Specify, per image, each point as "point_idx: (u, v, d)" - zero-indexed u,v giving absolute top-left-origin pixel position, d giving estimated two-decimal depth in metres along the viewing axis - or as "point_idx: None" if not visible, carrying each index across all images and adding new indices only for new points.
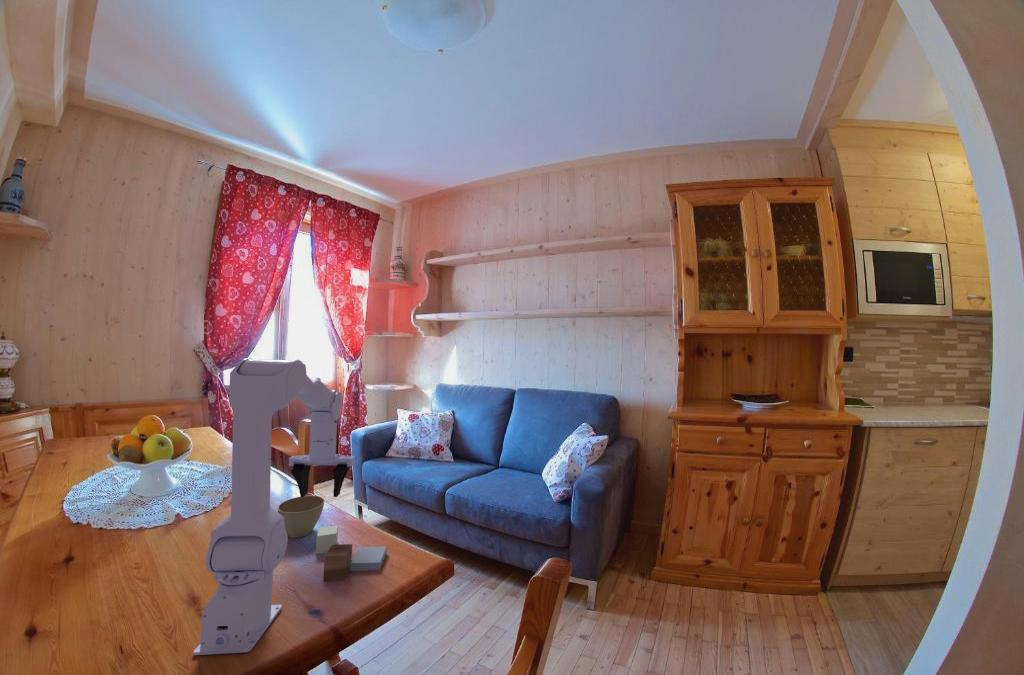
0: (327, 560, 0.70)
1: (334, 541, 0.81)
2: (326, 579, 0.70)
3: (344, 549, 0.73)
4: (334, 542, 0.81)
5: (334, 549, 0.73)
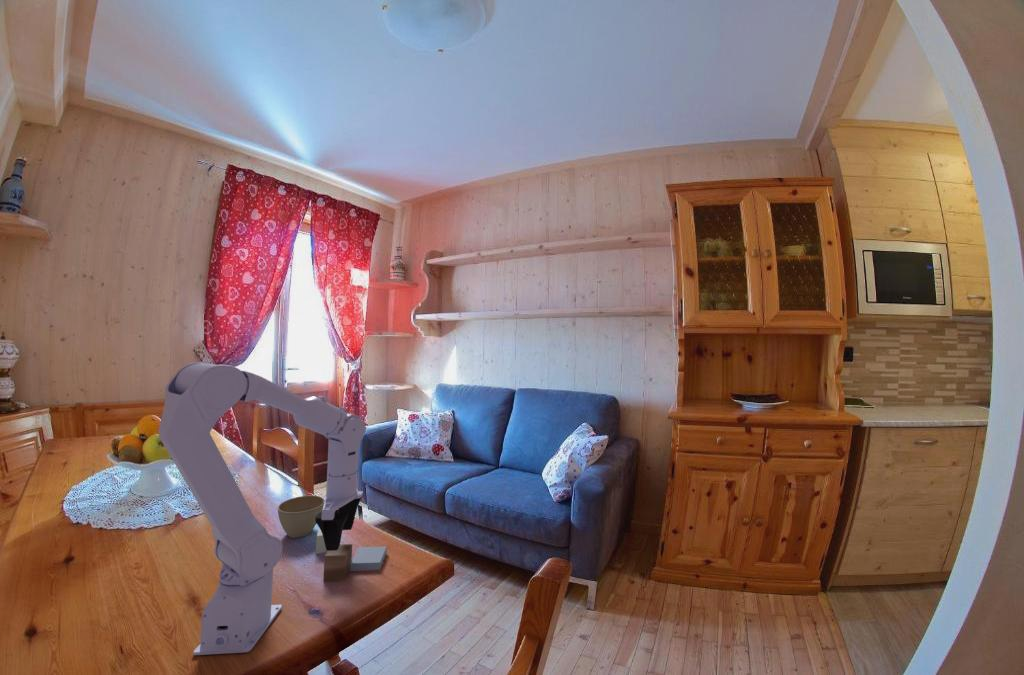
0: (327, 560, 0.70)
1: None
2: (326, 579, 0.70)
3: (344, 549, 0.73)
4: None
5: None
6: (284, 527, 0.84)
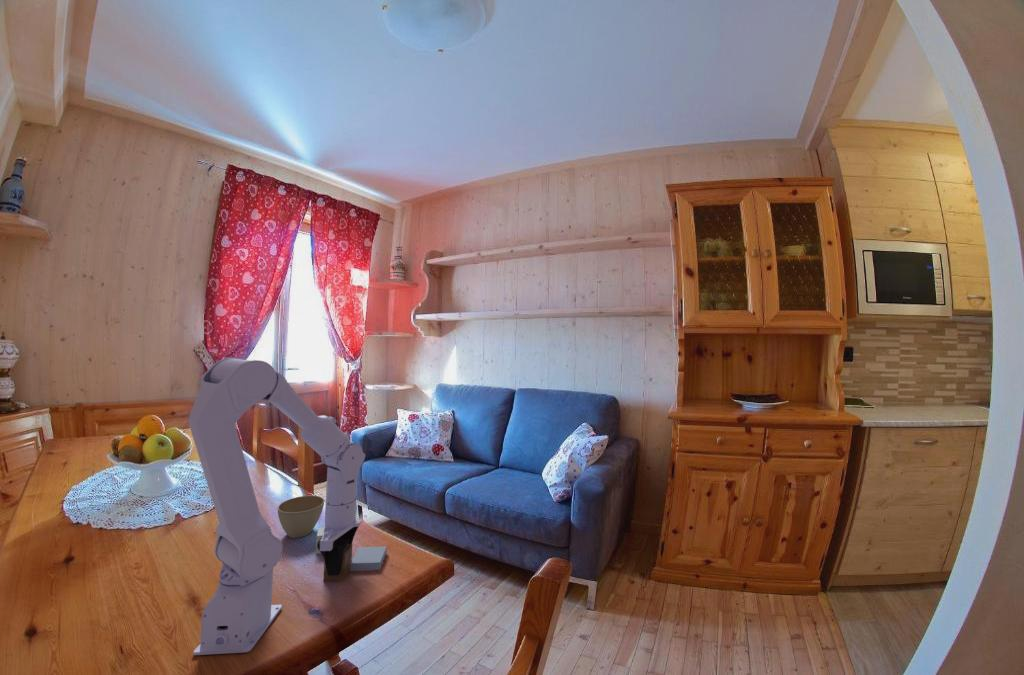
0: None
1: None
2: (326, 579, 0.70)
3: None
4: None
5: None
6: (284, 527, 0.84)
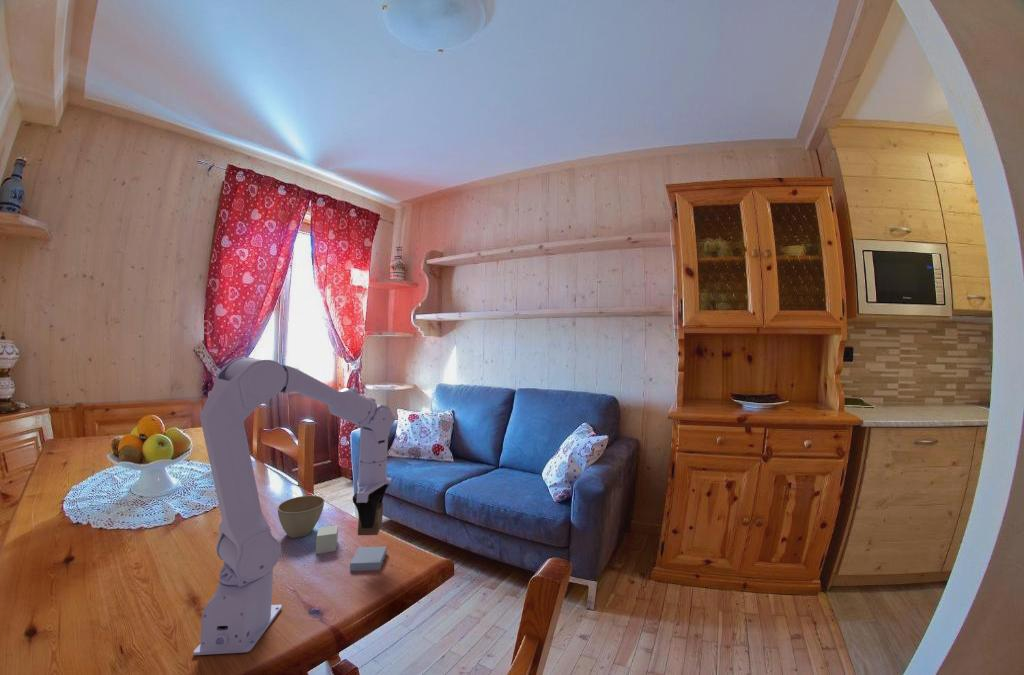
0: None
1: (334, 541, 0.80)
2: (360, 533, 0.75)
3: None
4: (334, 542, 0.80)
5: None
6: (284, 527, 0.84)
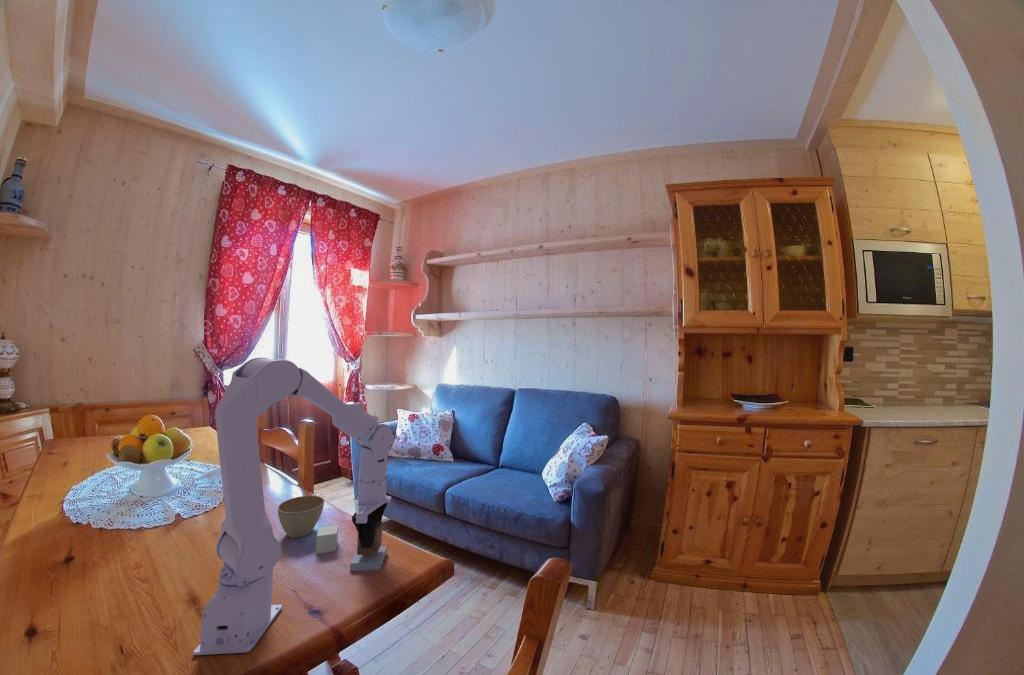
0: None
1: (334, 541, 0.81)
2: (359, 553, 0.75)
3: None
4: (334, 542, 0.81)
5: None
6: (284, 527, 0.84)
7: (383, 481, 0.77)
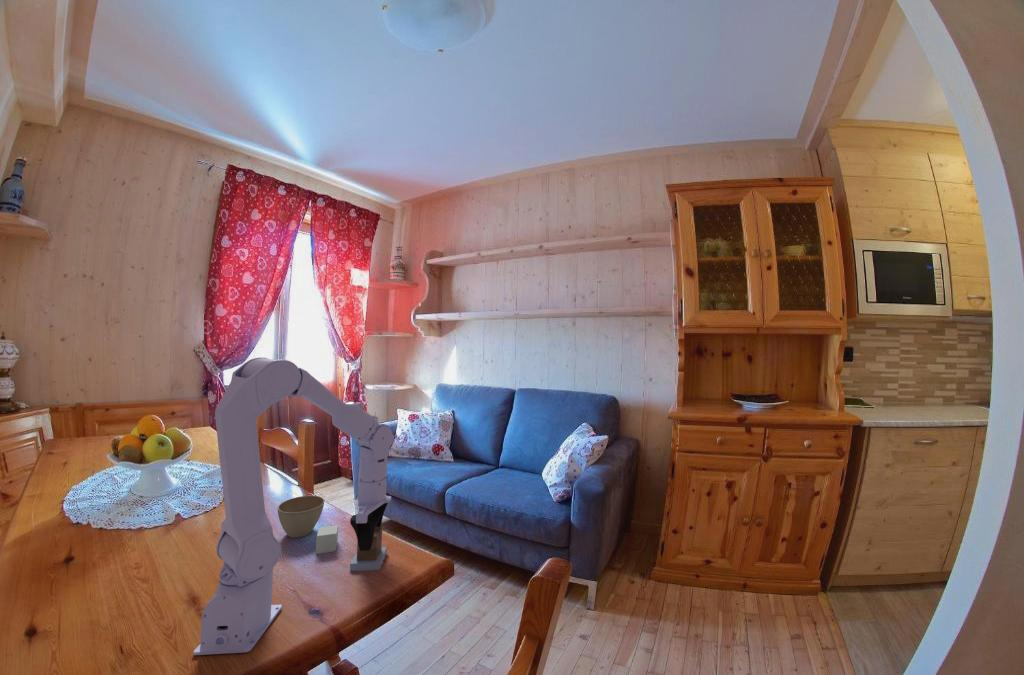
0: None
1: (334, 541, 0.80)
2: (359, 558, 0.75)
3: (375, 531, 0.77)
4: (334, 542, 0.80)
5: None
6: (284, 527, 0.84)
7: (383, 481, 0.77)
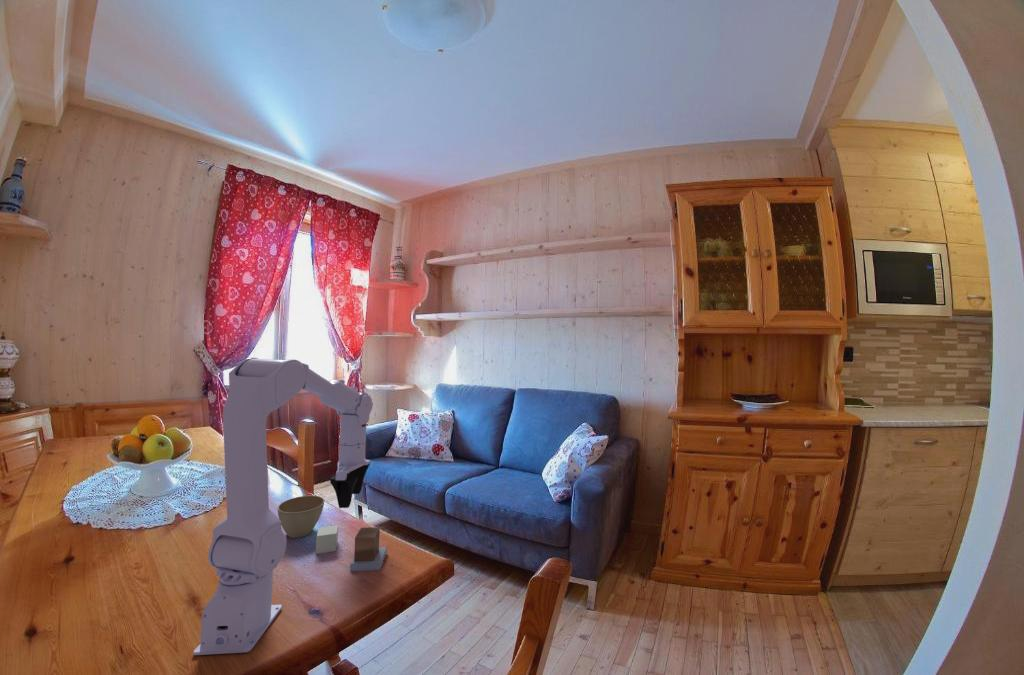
0: (357, 542, 0.75)
1: (334, 541, 0.80)
2: (357, 559, 0.75)
3: (373, 532, 0.77)
4: (334, 542, 0.80)
5: (363, 531, 0.77)
6: (284, 527, 0.84)
7: (362, 445, 0.84)
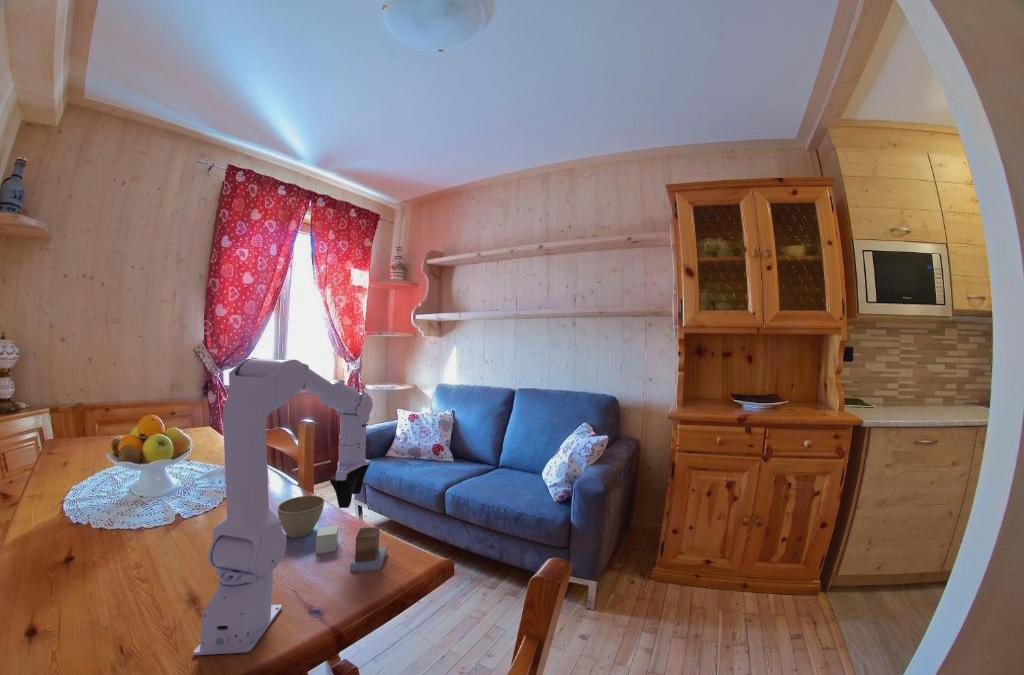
0: (358, 541, 0.75)
1: (334, 541, 0.80)
2: (357, 559, 0.75)
3: (373, 531, 0.77)
4: (334, 542, 0.80)
5: (363, 531, 0.77)
6: (284, 527, 0.84)
7: (362, 445, 0.84)
